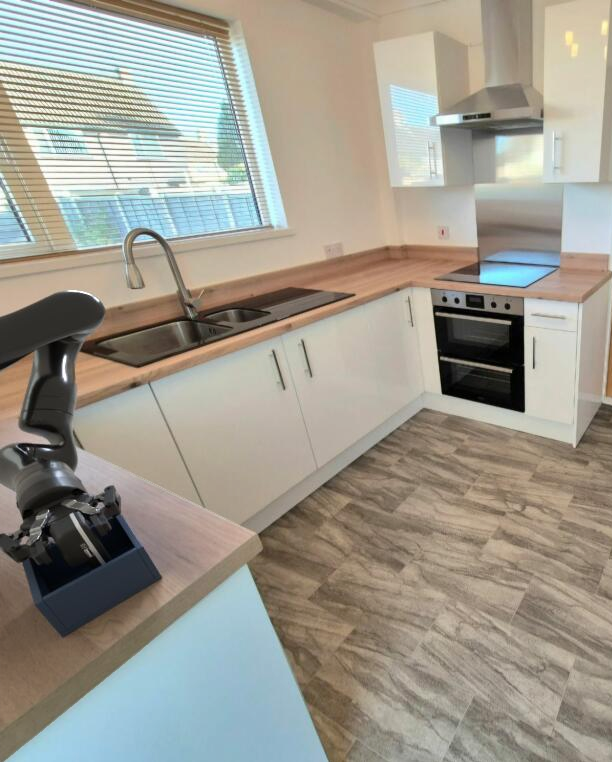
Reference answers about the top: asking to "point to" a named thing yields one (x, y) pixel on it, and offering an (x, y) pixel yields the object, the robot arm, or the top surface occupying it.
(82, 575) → the bin
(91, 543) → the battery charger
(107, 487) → the robot arm
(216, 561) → the top surface
